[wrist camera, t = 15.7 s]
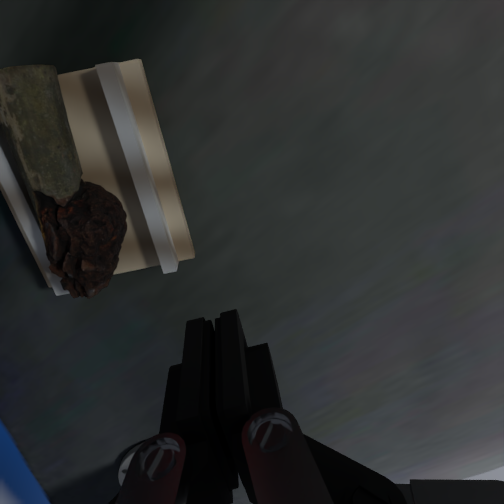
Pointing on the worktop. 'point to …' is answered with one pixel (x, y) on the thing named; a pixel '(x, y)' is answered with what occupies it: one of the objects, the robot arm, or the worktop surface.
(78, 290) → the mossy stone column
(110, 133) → the pipe cradle
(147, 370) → the worktop surface
